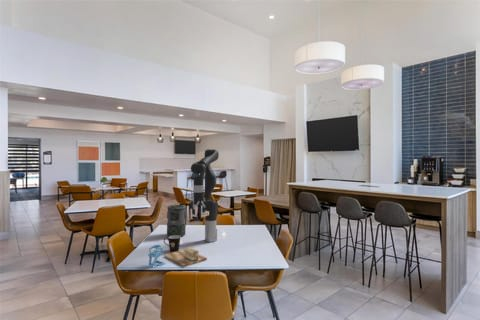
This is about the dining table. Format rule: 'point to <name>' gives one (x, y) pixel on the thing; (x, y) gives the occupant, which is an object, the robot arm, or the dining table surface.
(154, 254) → the chair
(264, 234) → the dining table surface
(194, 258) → the sanding block
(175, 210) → the canister
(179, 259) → the board
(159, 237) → the dining table surface
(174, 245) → the coffee mug
